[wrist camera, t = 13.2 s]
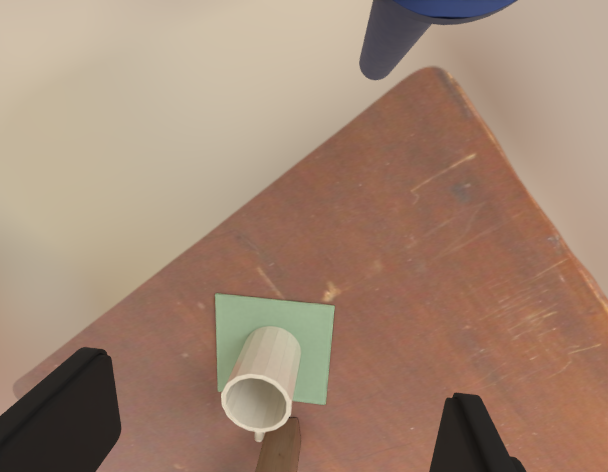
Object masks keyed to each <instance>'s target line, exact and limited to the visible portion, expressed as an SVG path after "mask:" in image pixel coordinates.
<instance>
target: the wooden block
mask: <svg viewBox="0 0 608 472" xmlns="http://www.w3.org/2000/svg"><path fill="white" fill-rule="evenodd" d="M300 446H301V437H300V430H299V423H298V420H297V419H296V418H288V420H287V421H286V423H285V424H284V425H282V426H281V427H279V428H277V429H276V430H273V431H268V432H265V436H264V440H263V444H262V448H261V452H260V456H259V459H258V463H257V467H256V471H255V472H297V468H298V461H299V453H300Z"/></svg>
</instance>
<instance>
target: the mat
mask: <svg viewBox="0 0 608 472" xmlns="http://www.w3.org/2000/svg"><path fill="white" fill-rule="evenodd" d="M215 305H216V343H217V380H218V391H220V392H222V391H223V389H224V387H225V385H226V382H227V380H228V378H229V376H230V374H231V372H232V369H233V367H234V365H235V363H236V361H237V358H238V356H239V354H240V352H241V350H242V348H243V345H244V343H245V341H246V339H247V338H248V336H249V335H250V334H251V333H252V332H253V331H254V330H256V329H258V328H261V327H265V326H275V327H280V328H282V329H285V330H287V331H288V332H290V333H291V334H292V335H293V336H294V337H295V338H296V339H297V341H298V343H299V345H300V348H301V362H300V367H299V373H298V378H297V384H296V389H295V394H294V400H293V401H298V402H305V403H313V404H321V405H326V395H327V384H328V373H329V363H330V352H331V341H332V330H333V319H334V308H335V305H326V304H317V303H307V302H297V301H287V300H278V299H268V298H258V297H249V296H239V295H229V294H220V293H216V294H215Z"/></svg>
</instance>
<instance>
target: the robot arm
mask: <svg viewBox="0 0 608 472" xmlns="http://www.w3.org/2000/svg"><path fill="white" fill-rule="evenodd" d="M120 433H121V422H120V415H119V408H118V401H117V394H116V387H115V381H114V374H113V367H112V360H111V357H110V356H108V355H107V352H106V351H105V350H103V349H96V348H88V347H83V348H81V349H79V350H78V351H76V352H75V353H74V354H73V355H72V356H70V357H69V358H68V359H67V360H66V361H65V362H63V363H62V364H61V365H60V366H59V367H57V368H56V369H55V370H54V371H53V372H52V373H50V374H49V375H48V376H47V377H46V378H45V379H43V380H42V381H41V382H40V383H39V384H37V385H36V386H35V387H34V388H33V389H32V390H30V391H29V392H28V393H27V394H26V395H24V396H23V397H22V398H21V399H20V400H19V401H17V402H16V403H15V404H14V405H13V406H11V407H10V408H9V409H8V410H7V411H6V412H4V413H3V414H2V415H1V416H0V472H95V471H96V470H97V469H98V467H99V466H100V465H101V463H102V462H103V460H104V459H105V458H106V456H107V455H108V453H109V452H110V451H111V449H112V448H113V446H114V445H115V444H116V442H117V440H118V438H119V436H120ZM429 472H526V470H525V468H524V467H523V465H522V464H521V462H520V461H519V460H518V459H517V458H515V457H510V456H509V454H508V452H507V450H506V448H505V446H504V444H503V442H502V440H501V438H500V436H499V434H498V432H497V430H496V428H495V426H494V424H493V422H492V420H491V418H490V416H489V414H488V411H487V409H486V407H485V405H484V403H483V401H482V399H481V398H480V397H479V396H478V395H471V394H463V393H454V395H453V397H452V398H447V399H446V401H445V405H444V409H443V414H442V418H441V422H440V427H439V431H438V436H437V440H436V444H435V449H434V453H433V458H432V462H431V466H430V471H429Z"/></svg>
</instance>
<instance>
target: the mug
mask: <svg viewBox="0 0 608 472" xmlns="http://www.w3.org/2000/svg"><path fill="white" fill-rule="evenodd" d="M300 362H301V348H300V345H299V343H298V341H297V339H296V338H295V337H294V336H293V335H292V334H291V333H290V332H288V331H287V330H285V329H282V328H280V327H275V326H265V327H261V328H258V329H256V330H254V331H253V332H252V333H251V334H250V335H249V336H248V338H247V339H246V341H245V343H244V345H243V348H242V350H241V352H240V354H239V356H238V358H237V361H236V363H235V365H234V367H233V369H232V372H231V374H230V376H229V378H228V380H227V382H226V385H225V387H224V389H223V391H222V394H221V399H222V407H223V409H224V411H225V413H226V415H227V416H228V417H229V418H230V419H231V420H232V421H233V422H234V423H235V424H236V425H238V426H240V427H242V428H244V429H246V430H249V431H254V438H255V440H256V441H257V442H261V441H262V440H263V438H264V434H265V432H268V431H273V430H276V429H277V428H279V427H281V426H282V425H284V424H285V423H286V421H287V420H288V418H289V416H290V415H291V411H292V405H293V400H294V394H295V389H296V384H297V378H298V373H299V367H300Z"/></svg>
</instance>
